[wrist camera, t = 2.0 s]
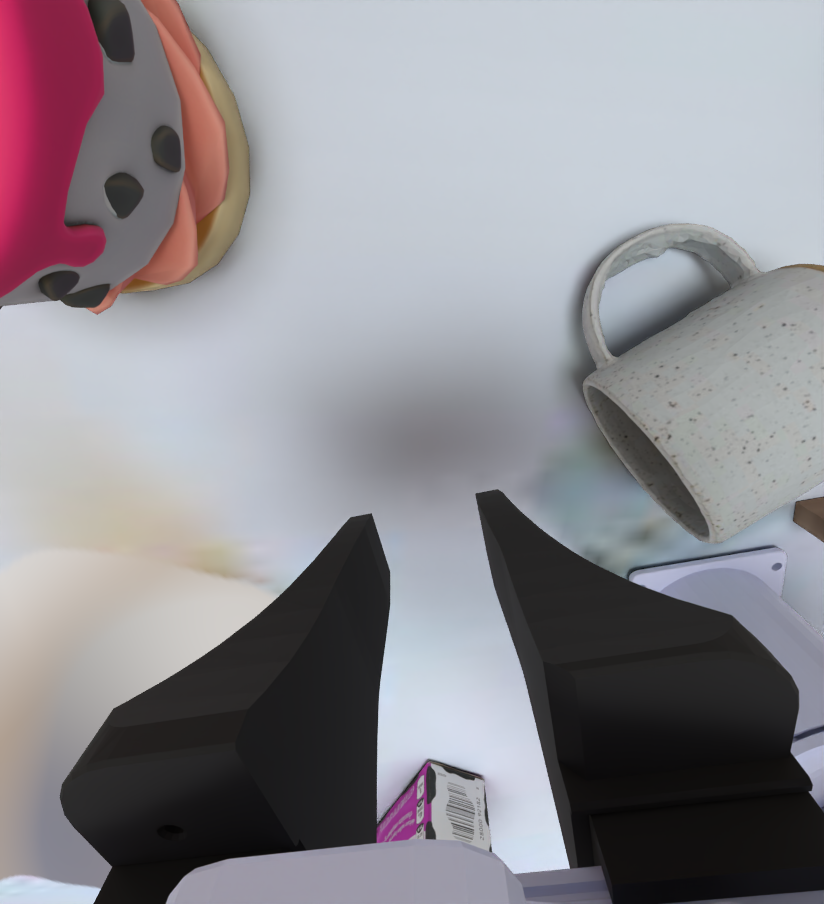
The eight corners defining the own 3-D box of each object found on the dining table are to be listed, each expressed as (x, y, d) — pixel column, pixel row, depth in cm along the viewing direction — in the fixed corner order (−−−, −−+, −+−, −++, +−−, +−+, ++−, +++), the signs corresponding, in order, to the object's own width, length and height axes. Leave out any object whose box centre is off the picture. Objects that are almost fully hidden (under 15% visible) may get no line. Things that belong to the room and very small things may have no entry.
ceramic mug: (800, 389, 19) (1015, 456, 12) (634, 485, 22) (737, 590, 15) (704, 174, 16) (918, 100, 9) (521, 311, 18) (582, 336, 11)
